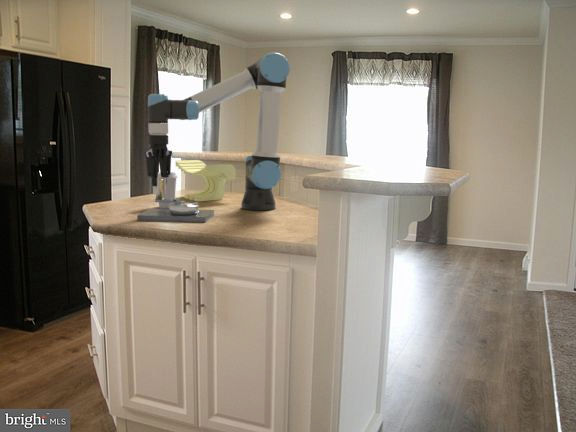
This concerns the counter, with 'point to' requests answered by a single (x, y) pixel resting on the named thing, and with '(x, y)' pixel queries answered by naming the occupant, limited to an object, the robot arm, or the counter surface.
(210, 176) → the slatted curved stool
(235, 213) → the counter surface
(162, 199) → the lever with amber grip
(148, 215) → the plate
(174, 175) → the coffee cup
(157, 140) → the robot arm
